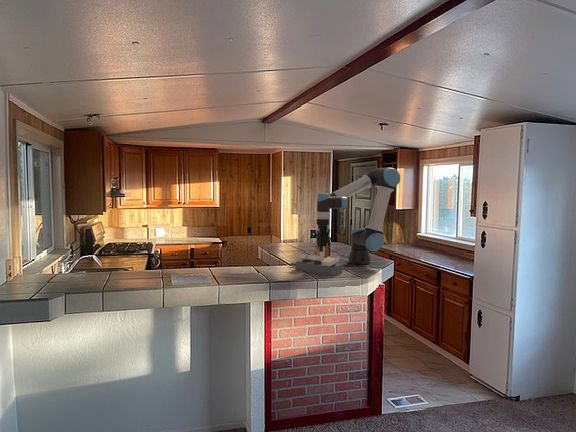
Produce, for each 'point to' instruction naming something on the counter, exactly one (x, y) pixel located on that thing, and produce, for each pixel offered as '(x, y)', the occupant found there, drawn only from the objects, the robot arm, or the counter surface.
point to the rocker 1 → (304, 256)
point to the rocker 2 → (317, 258)
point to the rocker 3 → (330, 260)
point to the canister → (327, 249)
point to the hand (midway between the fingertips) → (322, 256)
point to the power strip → (317, 267)
